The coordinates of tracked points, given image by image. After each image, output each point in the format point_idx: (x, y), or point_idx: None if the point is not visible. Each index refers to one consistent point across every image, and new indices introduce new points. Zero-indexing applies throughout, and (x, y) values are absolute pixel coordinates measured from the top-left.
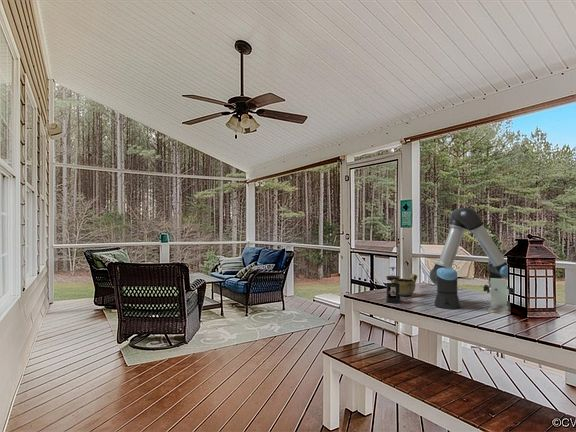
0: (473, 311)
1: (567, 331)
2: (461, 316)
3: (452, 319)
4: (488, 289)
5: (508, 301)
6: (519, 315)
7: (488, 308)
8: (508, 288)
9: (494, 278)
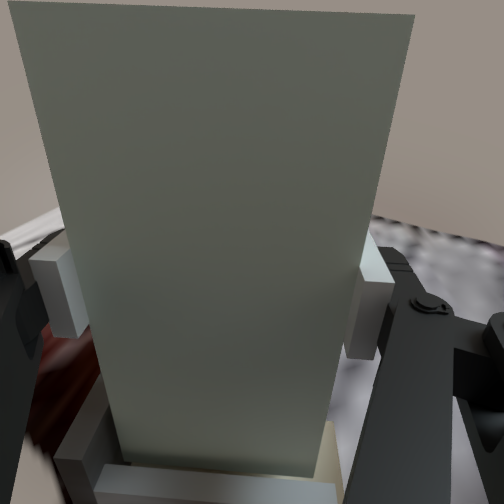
0: (464, 436)
1: (43, 221)
2: (455, 286)
3: (459, 244)
4: (379, 249)
5: (88, 419)
6: (67, 415)
7: (340, 501)
8: (11, 257)
9: (303, 11)
